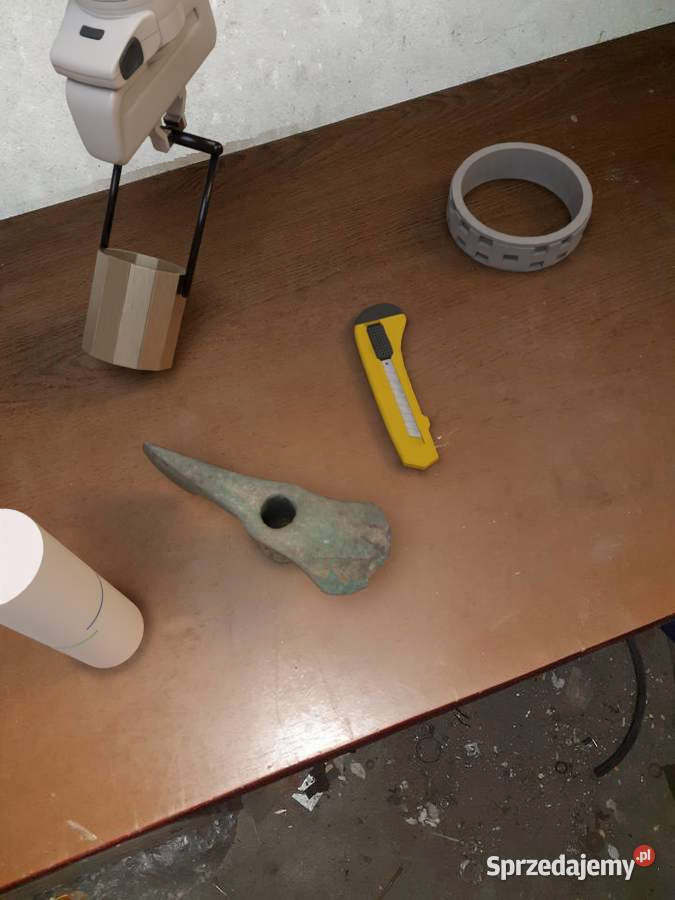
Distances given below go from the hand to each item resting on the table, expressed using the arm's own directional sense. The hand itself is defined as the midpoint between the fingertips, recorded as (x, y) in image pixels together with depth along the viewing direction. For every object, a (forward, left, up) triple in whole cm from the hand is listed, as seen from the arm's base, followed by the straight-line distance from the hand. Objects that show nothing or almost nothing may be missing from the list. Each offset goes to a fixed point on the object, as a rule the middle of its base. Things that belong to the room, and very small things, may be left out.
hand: (171, 138), depth 73 cm
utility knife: (+30, -8, -20) cm, 37 cm away
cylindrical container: (+13, -46, -20) cm, 52 cm away
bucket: (0, -5, -11) cm, 12 cm away
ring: (+35, +22, -20) cm, 46 cm away
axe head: (+23, -30, -20) cm, 43 cm away
